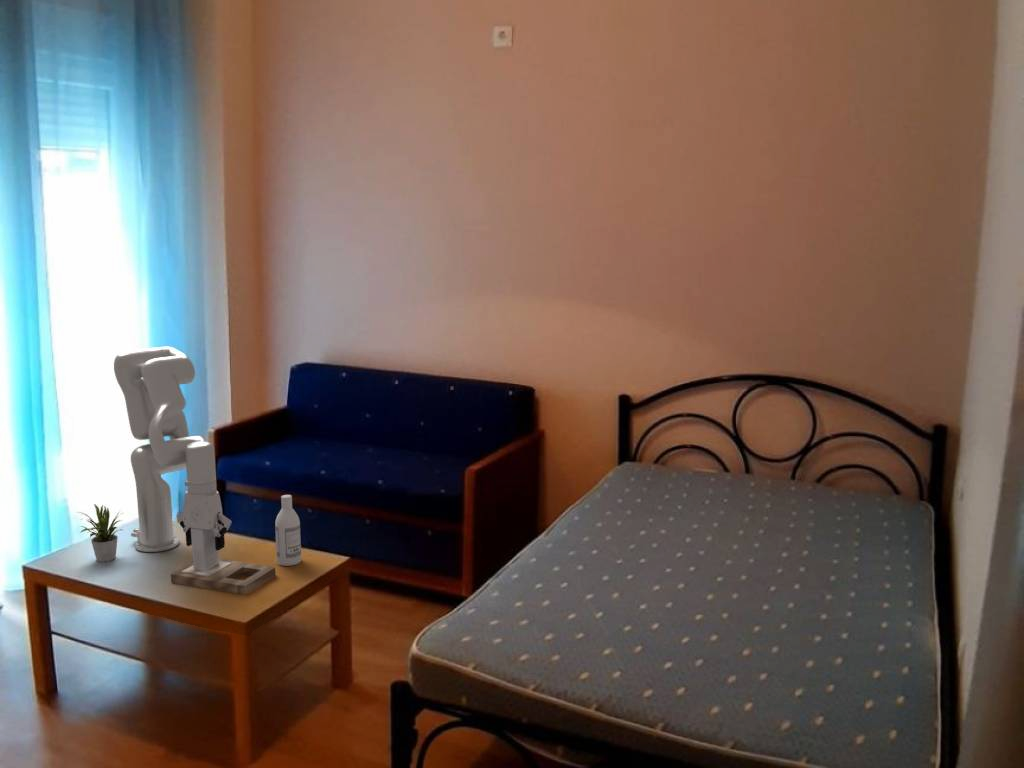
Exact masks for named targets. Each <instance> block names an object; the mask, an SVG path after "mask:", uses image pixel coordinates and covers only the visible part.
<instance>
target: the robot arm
mask: <svg viewBox="0 0 1024 768" xmlns="http://www.w3.org/2000/svg"><path fill="white" fill-rule="evenodd" d="M114 358H115V359H114V361H113V371H114V375H115V379H116V381H117V384H118V385H119V388H120V389H121V392H122V394H123V396H124V400H125V407H126V413H127V418H128V422H129V423H128V424H129V427H130V431H131V434H132V436H133V437H134V439H136V440H138V441H143V440H144V441H146V440H148V442H149V443H148V444H143V445H140V446H137V447H136V448H134V449H133V450H132V452H131V455H130V464H131V468H132V471H133V476H134V479H135V481H134V482H135V487H136V488H135V489H136V499H137V500H136V501H137V511H138V512H137V514H138V526H139V527H138V528H137V527H135V528H134V529H132V532H131V533H130V536H131V537H132V538H137V540H136V541H135V543H134V548H135V550H136V551H140V552H143V553H144V552H145V553H158V552H164V551H168V550H171V549H174V548H175V547H177V546H178V545H179V544H180V538H179V537H178V536H176V535H174V520H173V519H174V518H173V508H172V507H173V506H172V491H171V487H170V485H169V483H168V482H167V481H166V480H165V479H164V478H163V477H162V475H164V474H169V473H173V472H174V473H175V472H178V471H184V470H186V481H184V486H185V487H187V490H186V491H185V493H184V497H183V506H182V507H183V510H182V511H181V512H180V513H178V514H176V518H177V521H178V522H179V525H180V526H181V528H182V530H183V532H184V533H185V541H186V542H185V543H186V547H190V546H192V540H191V528H195V529H203V530H213V531H214V533H215V534H216V535H217V536H216V537H215V549H216V550H217V551H218V552H219V551H220V550H222V549H224V548H225V546H226V545H225V535H226V534H227V532H228V531H229V530H230V527H231V525H232V523H233V522H232V520H231V519H229V518H228V517H226V515H224V514H223V506H222V501H221V496H220V493H219V491H218V490H217V477H216V476H217V474H216V472H217V471H216V455H215V446H214V444H213V443H211V442H208V441H207V440H206V439H205V438H204V437H203V436H201V435H193V436H192V435H191V436H190V433H189V429H188V423H187V419H186V415H185V413H184V409H185V407H186V405H187V402H186V399H185V396H184V393H183V392H182V389H181V386H180V385H186V384H190V383H192V382H193V381H194V380H195V376H196V369H195V366H194V364H193V361H192V360H191V359H190V358H189V356H187V355H186V354H185V353H183V352H182V351H180V350H178V349H176V348H175V347H173V346H172V347H171V346H160V347H159V346H158V347H149V348H147V347H146V348H137V349H130V350H126V351H123V352H121V353H118V354H117V355H116V357H114ZM165 437H168V438H169V440H168V439H167V440H166V439H165Z"/></svg>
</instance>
